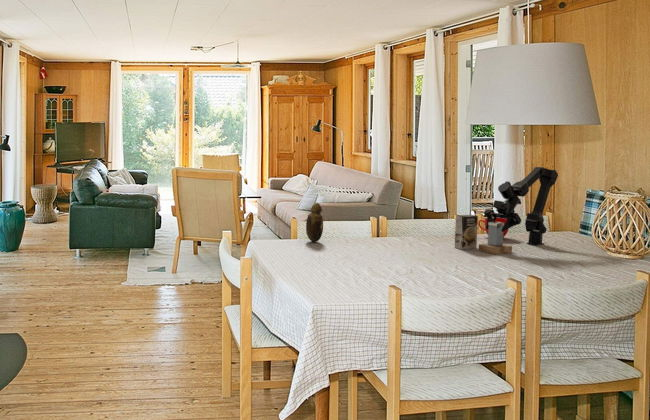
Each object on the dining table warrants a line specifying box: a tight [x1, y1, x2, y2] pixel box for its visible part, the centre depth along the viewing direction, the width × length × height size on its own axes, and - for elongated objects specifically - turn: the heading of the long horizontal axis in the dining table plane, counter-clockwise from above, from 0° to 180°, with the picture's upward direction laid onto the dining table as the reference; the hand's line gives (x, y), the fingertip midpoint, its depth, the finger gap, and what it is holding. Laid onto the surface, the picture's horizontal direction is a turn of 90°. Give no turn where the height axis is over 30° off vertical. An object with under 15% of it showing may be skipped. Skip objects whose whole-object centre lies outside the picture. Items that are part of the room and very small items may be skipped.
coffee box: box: [454, 214, 479, 250], centre depth 367 cm, size 9×6×16 cm
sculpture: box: [305, 202, 324, 243], centre depth 380 cm, size 13×8×20 cm, turn 5°
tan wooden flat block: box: [478, 243, 513, 255], centre depth 359 cm, size 11×11×3 cm
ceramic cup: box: [477, 217, 509, 238], centre depth 397 cm, size 13×17×10 cm
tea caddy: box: [487, 222, 504, 247], centre depth 358 cm, size 5×5×11 cm
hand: (494, 230), depth 357 cm, fingers open, 9 cm apart
